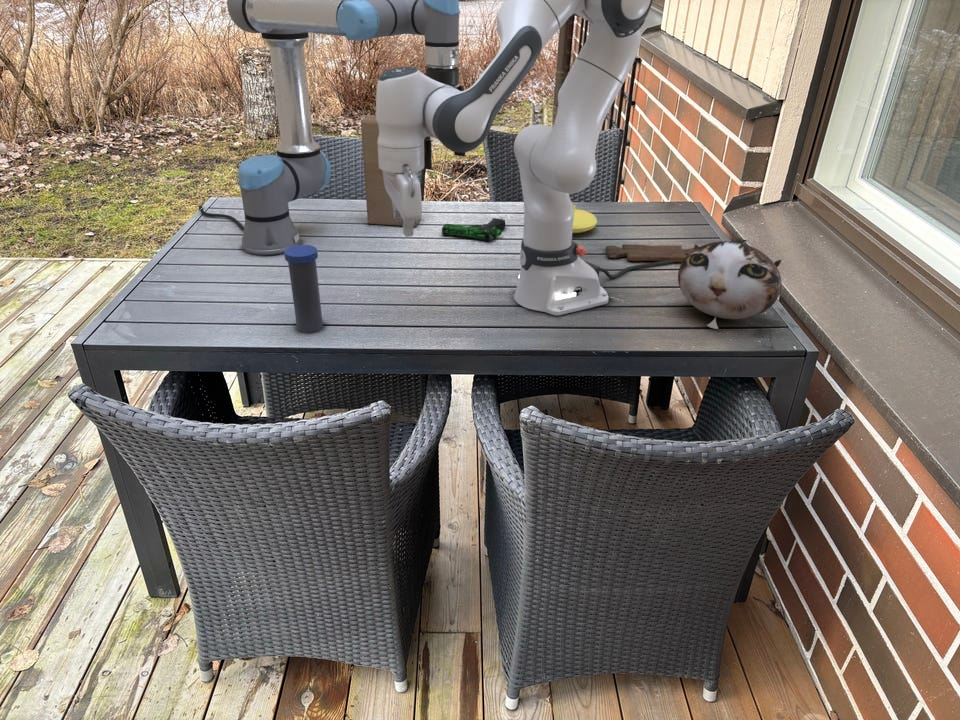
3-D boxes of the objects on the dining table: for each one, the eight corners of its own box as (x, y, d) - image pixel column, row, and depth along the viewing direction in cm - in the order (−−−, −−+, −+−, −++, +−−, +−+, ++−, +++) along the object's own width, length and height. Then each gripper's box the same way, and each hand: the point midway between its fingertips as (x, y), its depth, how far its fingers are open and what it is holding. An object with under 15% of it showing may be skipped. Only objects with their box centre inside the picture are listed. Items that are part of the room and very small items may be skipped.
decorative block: (416, 227, 210) (413, 122, 195) (367, 224, 212) (359, 120, 196) (422, 218, 216) (419, 116, 201) (373, 215, 218) (367, 114, 203)
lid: (287, 251, 151) (286, 244, 150) (319, 251, 151) (318, 244, 151) (282, 264, 145) (281, 257, 144) (316, 263, 146) (315, 256, 145)
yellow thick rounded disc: (559, 216, 220) (561, 193, 217) (605, 227, 212) (608, 204, 209) (532, 230, 209) (533, 207, 206) (580, 242, 201) (582, 218, 198)
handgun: (511, 219, 210) (493, 234, 198) (511, 228, 211) (492, 244, 199) (461, 212, 215) (440, 226, 203) (461, 221, 217) (440, 236, 204)
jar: (298, 321, 159) (289, 247, 150) (324, 320, 159) (316, 247, 150) (295, 333, 154) (285, 258, 145) (321, 332, 154) (313, 257, 146)
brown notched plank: (705, 264, 190) (697, 250, 198) (707, 258, 189) (698, 245, 198) (608, 261, 190) (604, 247, 199) (609, 255, 189) (605, 241, 198)
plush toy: (655, 305, 156) (684, 221, 158) (671, 327, 172) (697, 250, 173) (760, 330, 146) (790, 239, 147) (766, 351, 161) (793, 268, 163)
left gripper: (421, 75, 148) (424, 176, 159) (486, 61, 166) (485, 153, 177) (393, 71, 151) (397, 171, 162) (460, 58, 169) (460, 148, 180)
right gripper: (429, 172, 130) (430, 244, 137) (406, 144, 146) (408, 210, 153) (395, 174, 128) (397, 247, 135) (376, 146, 145) (379, 212, 152)
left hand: (443, 161), depth 169 cm, fingers open, 13 cm apart
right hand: (403, 227), depth 144 cm, fingers open, 8 cm apart
